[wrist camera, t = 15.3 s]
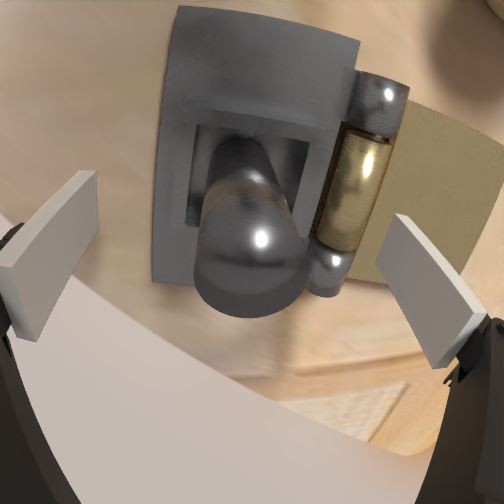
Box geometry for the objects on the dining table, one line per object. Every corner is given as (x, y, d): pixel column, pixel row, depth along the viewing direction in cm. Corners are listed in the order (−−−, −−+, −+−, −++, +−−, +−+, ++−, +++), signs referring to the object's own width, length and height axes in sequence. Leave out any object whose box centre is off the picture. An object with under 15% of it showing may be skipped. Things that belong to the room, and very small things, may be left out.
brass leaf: (353, 81, 17) (367, 84, 14) (505, 146, 18) (527, 159, 15) (302, 261, 24) (306, 285, 21) (443, 284, 25) (456, 306, 22)
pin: (212, 137, 17) (196, 219, 9) (275, 144, 18) (321, 231, 9) (206, 195, 19) (191, 314, 11) (265, 200, 20) (295, 320, 11)
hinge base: (181, 8, 14) (170, -3, 11) (401, 59, 16) (431, 62, 13) (154, 272, 23) (146, 305, 20) (326, 290, 25) (338, 322, 22)
